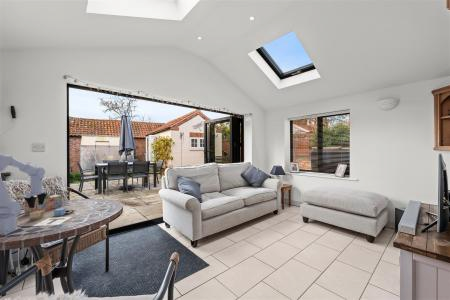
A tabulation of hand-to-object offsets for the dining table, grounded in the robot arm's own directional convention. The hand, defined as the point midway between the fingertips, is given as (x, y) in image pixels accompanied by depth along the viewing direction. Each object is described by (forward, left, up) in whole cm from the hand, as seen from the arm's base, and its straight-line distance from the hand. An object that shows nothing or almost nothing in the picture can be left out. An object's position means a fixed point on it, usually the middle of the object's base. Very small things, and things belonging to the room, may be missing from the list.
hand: (36, 206), depth 125 cm
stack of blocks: (+22, +9, -9) cm, 25 cm away
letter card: (-7, -14, -9) cm, 18 cm away
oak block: (0, 0, -9) cm, 9 cm away
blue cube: (+6, -10, -9) cm, 15 cm away
